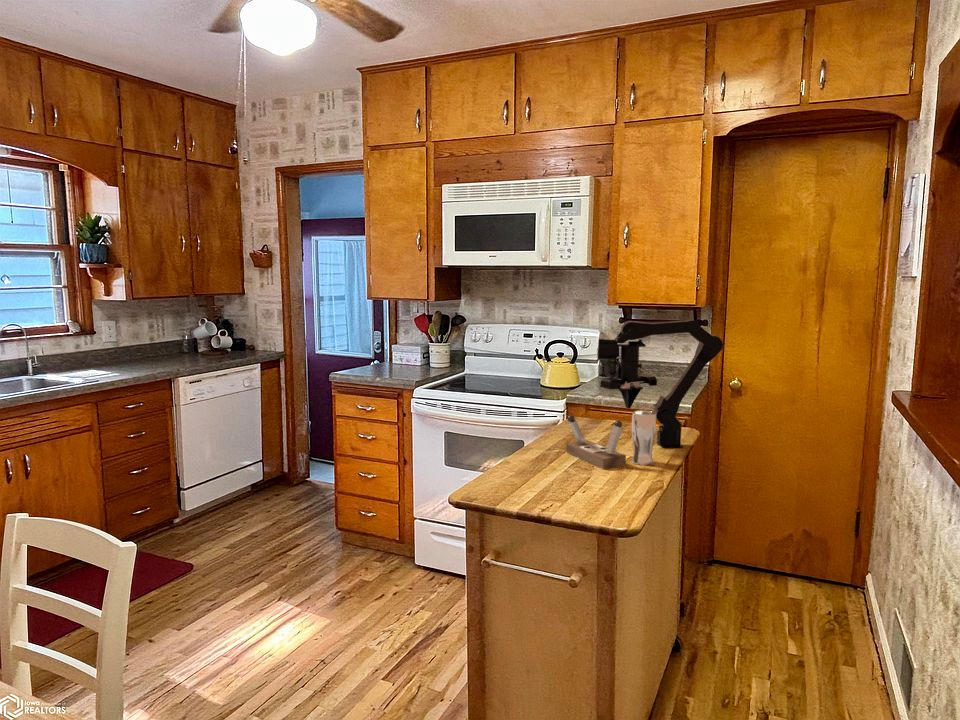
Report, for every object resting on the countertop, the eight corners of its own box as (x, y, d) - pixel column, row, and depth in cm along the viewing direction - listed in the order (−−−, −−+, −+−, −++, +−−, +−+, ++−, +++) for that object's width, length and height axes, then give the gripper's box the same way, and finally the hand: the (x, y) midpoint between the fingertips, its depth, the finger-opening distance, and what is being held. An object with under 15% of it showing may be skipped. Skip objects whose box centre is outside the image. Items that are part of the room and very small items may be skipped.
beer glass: (652, 459, 196) (654, 410, 194) (656, 466, 189) (658, 415, 187) (629, 458, 196) (630, 409, 194) (632, 465, 189) (633, 414, 187)
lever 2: (609, 452, 191) (619, 420, 191) (615, 454, 189) (625, 422, 189) (603, 451, 190) (613, 418, 190) (609, 453, 188) (619, 420, 188)
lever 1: (581, 438, 203) (570, 413, 200) (586, 440, 201) (574, 414, 198) (576, 442, 203) (564, 416, 199) (581, 444, 200) (569, 418, 197)
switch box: (587, 449, 206) (587, 438, 206) (625, 465, 189) (625, 453, 189) (566, 452, 203) (566, 441, 202) (603, 469, 186) (603, 457, 185)
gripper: (636, 355, 220) (635, 401, 222) (590, 359, 212) (589, 406, 214) (659, 359, 210) (657, 407, 212) (611, 363, 202) (610, 412, 204)
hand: (628, 408), depth 211 cm, fingers closed
